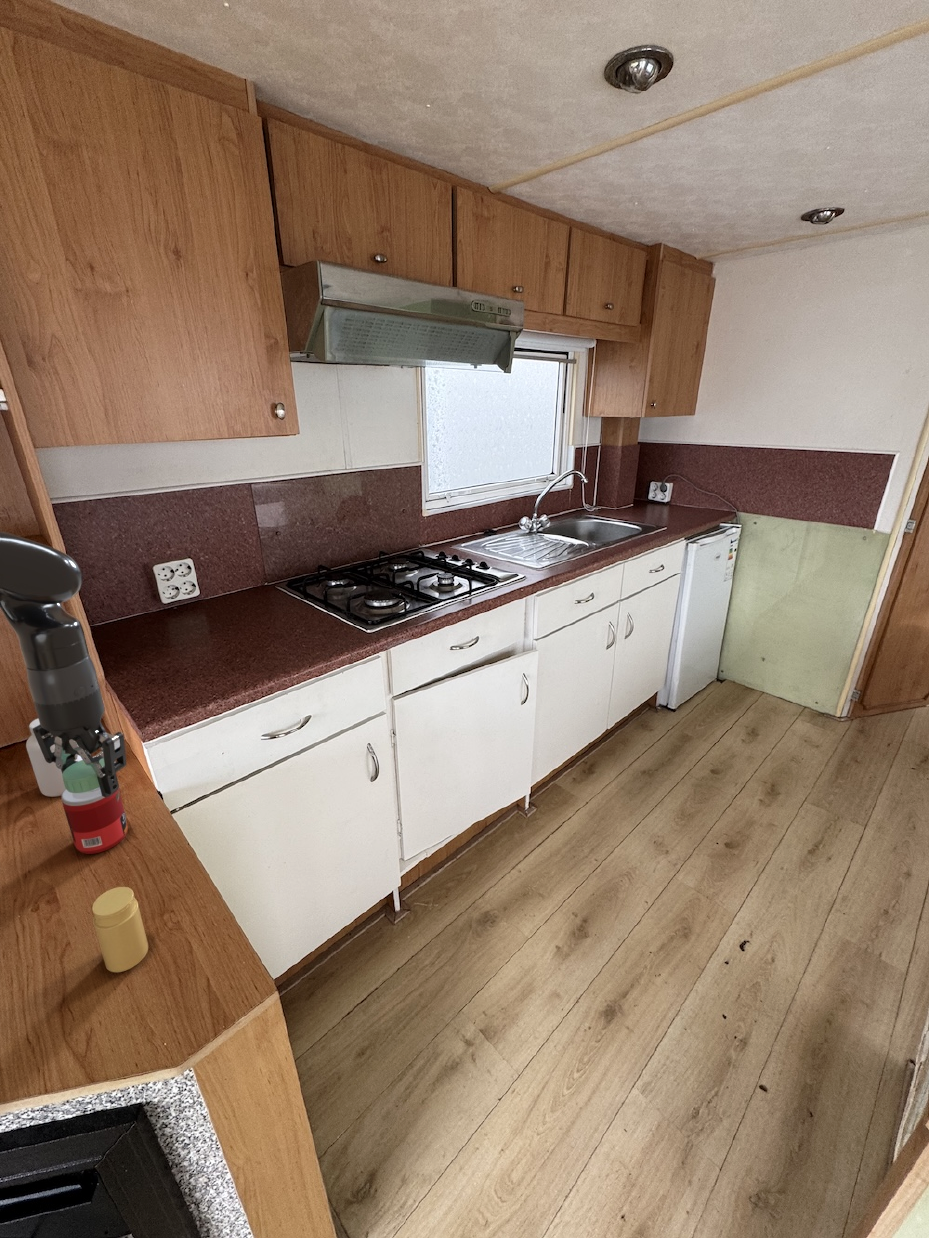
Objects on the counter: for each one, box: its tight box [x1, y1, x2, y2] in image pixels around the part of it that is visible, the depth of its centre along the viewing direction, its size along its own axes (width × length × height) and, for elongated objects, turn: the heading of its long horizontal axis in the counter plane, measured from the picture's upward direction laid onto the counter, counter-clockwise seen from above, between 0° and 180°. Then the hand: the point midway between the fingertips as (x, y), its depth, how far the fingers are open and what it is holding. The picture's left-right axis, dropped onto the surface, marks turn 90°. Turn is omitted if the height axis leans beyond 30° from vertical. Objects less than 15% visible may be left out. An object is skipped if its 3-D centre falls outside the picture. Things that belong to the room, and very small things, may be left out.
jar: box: [91, 886, 149, 973], centre depth 73 cm, size 5×5×10 cm
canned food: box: [61, 787, 129, 855], centre depth 94 cm, size 8×8×11 cm
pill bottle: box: [25, 718, 83, 798], centre depth 106 cm, size 8×8×15 cm
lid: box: [62, 758, 105, 793], centre depth 79 cm, size 6×6×2 cm
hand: (93, 789), depth 80 cm, fingers closed on lid, 6 cm apart
